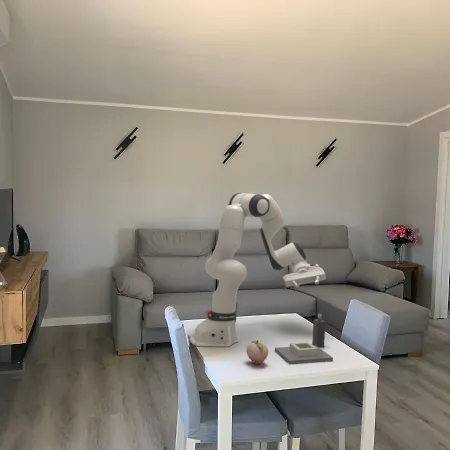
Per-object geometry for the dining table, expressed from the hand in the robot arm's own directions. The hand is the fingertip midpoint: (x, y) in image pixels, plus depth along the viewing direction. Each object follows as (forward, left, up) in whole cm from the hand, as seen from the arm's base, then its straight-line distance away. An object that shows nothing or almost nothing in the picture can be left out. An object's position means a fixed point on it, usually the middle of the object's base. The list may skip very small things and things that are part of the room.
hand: (307, 284), depth 224 cm
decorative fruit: (-34, -26, -27) cm, 51 cm away
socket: (-11, -21, -27) cm, 36 cm away
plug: (+2, -10, -27) cm, 29 cm away
